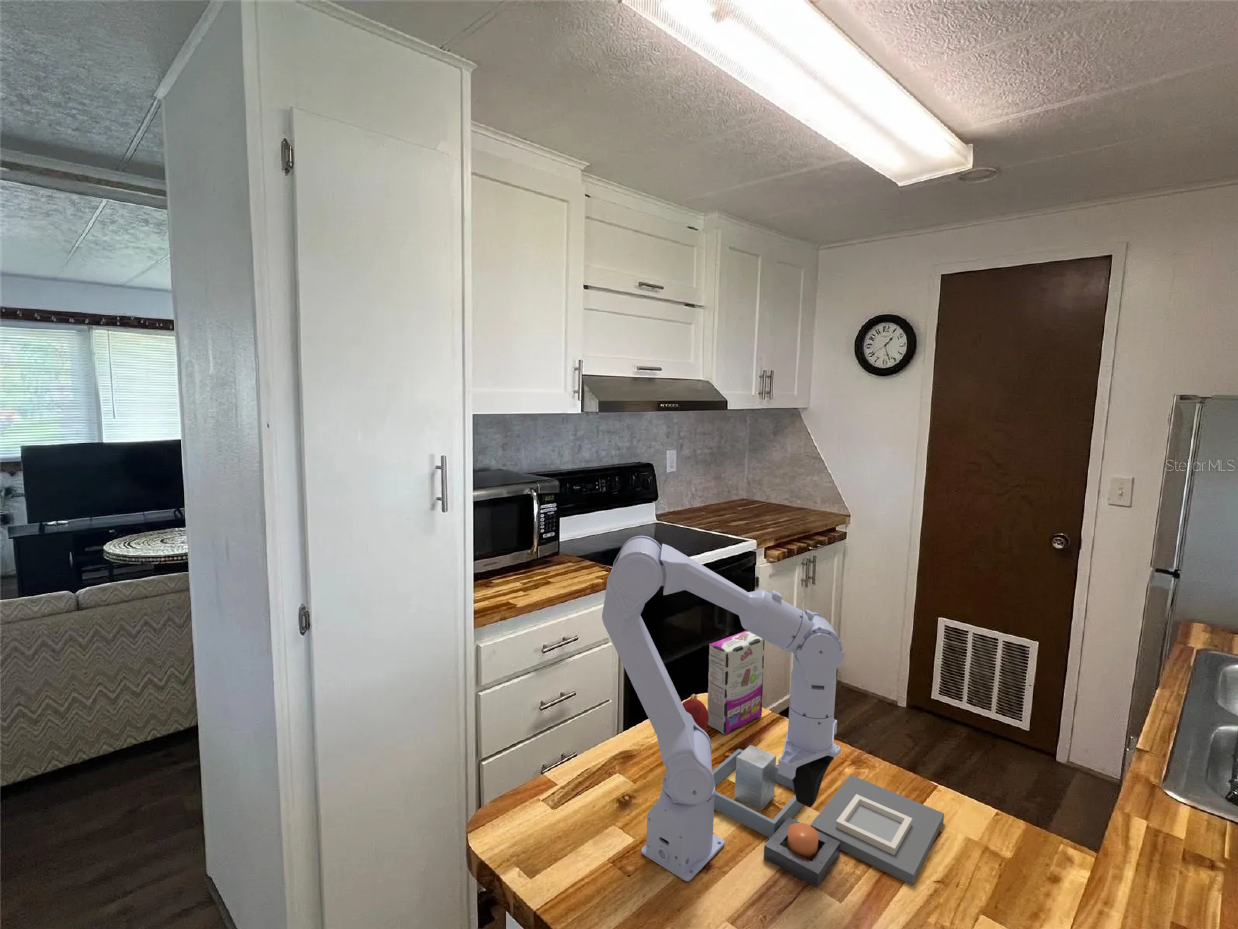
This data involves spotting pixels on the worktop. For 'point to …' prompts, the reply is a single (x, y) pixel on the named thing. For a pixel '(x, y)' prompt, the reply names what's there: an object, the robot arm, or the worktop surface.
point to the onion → (697, 711)
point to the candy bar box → (735, 681)
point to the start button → (803, 840)
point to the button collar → (797, 864)
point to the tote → (747, 814)
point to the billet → (755, 777)
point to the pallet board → (880, 827)
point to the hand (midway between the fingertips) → (805, 802)
